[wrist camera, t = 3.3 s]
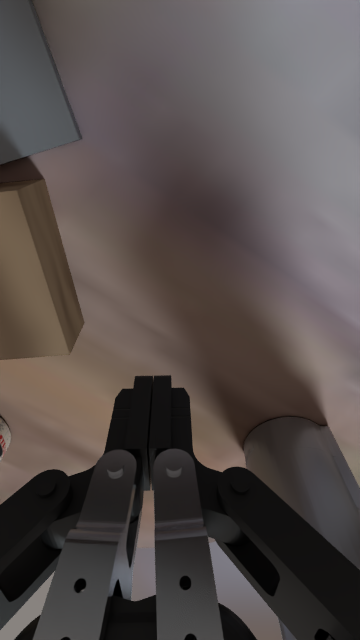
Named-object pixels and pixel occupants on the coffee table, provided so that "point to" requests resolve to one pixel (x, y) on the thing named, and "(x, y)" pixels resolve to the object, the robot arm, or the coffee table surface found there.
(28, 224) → the tan rectangular block
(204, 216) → the coffee table surface
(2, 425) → the teacup with lid
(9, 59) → the slate coaster
